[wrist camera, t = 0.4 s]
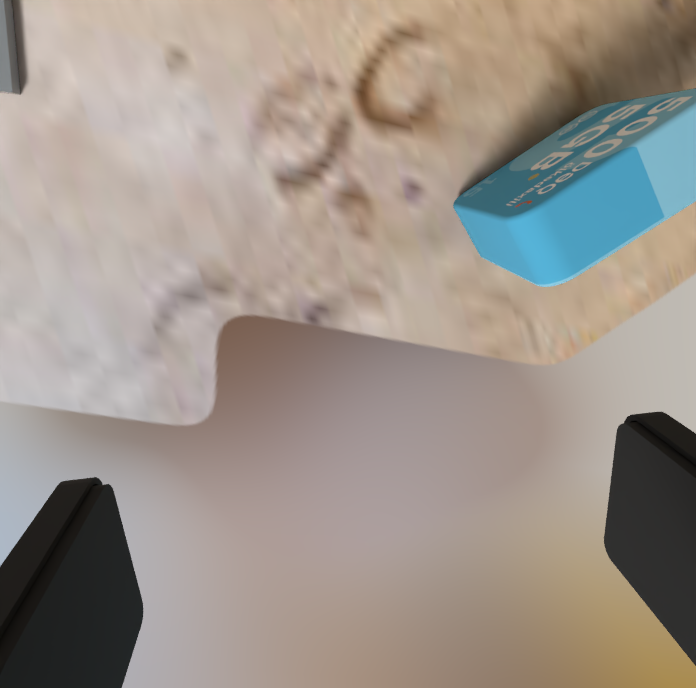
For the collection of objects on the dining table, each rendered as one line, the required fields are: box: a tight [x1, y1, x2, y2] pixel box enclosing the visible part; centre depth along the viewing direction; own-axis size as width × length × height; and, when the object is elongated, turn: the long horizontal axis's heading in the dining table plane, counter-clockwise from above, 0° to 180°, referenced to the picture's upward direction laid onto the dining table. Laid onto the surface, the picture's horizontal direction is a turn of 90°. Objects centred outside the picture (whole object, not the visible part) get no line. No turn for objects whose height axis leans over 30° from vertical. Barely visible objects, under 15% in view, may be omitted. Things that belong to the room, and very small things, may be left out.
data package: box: [453, 88, 696, 287], centre depth 32 cm, size 12×4×12 cm, turn 123°
